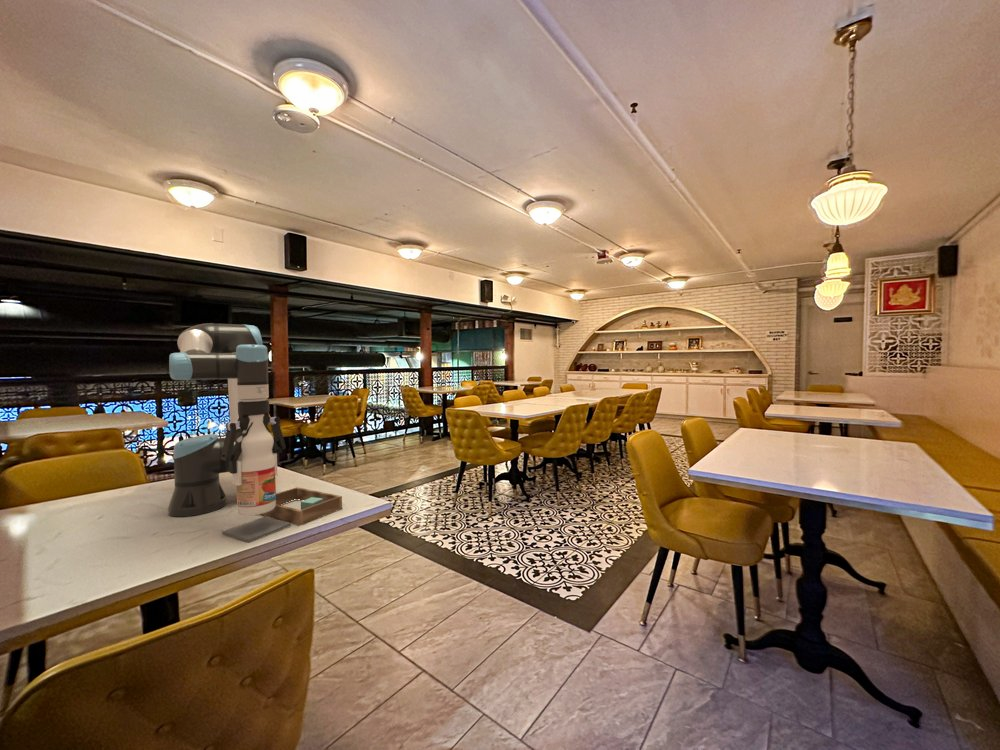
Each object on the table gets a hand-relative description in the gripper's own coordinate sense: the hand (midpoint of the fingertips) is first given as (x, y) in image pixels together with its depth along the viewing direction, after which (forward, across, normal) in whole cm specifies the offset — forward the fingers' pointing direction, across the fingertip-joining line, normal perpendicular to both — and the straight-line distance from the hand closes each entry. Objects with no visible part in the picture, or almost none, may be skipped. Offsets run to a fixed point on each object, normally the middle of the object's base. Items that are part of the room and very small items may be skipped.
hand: (256, 479), depth 113 cm
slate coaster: (+14, 0, 0) cm, 14 cm away
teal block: (+14, +15, -3) cm, 21 cm away
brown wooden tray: (+14, +15, +3) cm, 21 cm away
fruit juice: (+9, 0, 0) cm, 9 cm away
